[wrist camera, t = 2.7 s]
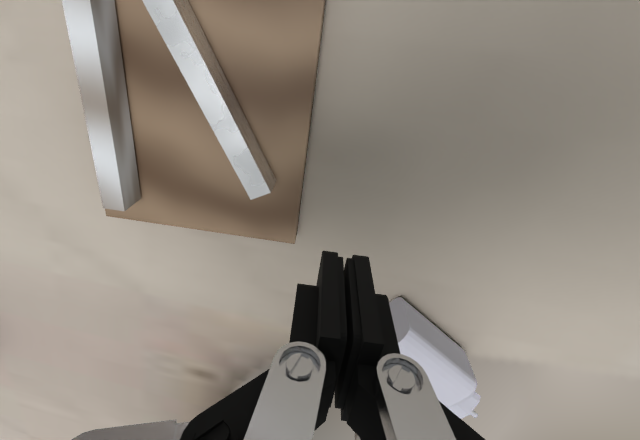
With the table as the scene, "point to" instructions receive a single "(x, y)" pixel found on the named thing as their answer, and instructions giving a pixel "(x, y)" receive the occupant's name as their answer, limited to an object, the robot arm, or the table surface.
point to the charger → (436, 358)
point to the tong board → (197, 111)
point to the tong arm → (212, 92)
